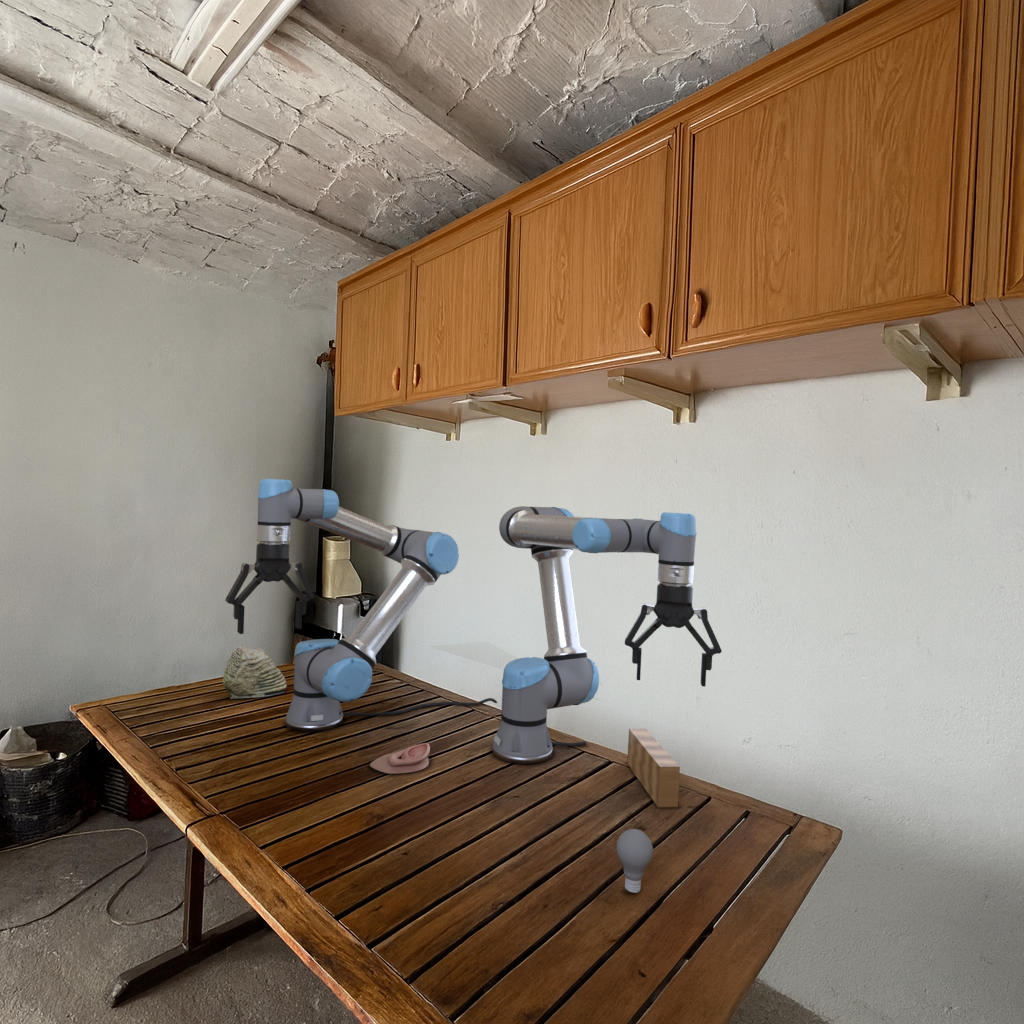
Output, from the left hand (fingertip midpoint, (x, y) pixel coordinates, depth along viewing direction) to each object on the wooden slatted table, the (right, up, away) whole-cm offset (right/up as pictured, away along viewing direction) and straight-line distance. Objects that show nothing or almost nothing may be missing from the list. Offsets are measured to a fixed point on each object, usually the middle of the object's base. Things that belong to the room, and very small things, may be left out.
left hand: (270, 630), depth 153 cm
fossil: (-22, -29, +45) cm, 57 cm away
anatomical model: (+32, -32, -2) cm, 45 cm away
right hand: (+93, -8, -16) cm, 95 cm away
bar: (+91, -34, -6) cm, 97 cm away
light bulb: (+79, -35, -48) cm, 98 cm away
